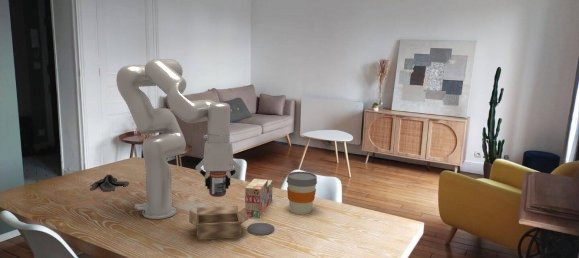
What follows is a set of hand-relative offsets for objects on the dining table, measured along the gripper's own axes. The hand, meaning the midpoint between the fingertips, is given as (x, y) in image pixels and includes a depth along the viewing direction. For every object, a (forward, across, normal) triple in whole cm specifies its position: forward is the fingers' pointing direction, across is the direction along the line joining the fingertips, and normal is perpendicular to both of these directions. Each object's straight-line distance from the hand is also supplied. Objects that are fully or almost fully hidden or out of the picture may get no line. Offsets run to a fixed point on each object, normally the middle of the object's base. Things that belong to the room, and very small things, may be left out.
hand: (217, 187), depth 146 cm
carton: (+17, +1, 0) cm, 17 cm away
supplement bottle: (+3, 0, 0) cm, 3 cm away
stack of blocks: (+17, +19, +21) cm, 33 cm away
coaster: (+17, +16, 0) cm, 23 cm away
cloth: (+19, -48, +58) cm, 78 cm away
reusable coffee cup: (+17, +36, +16) cm, 43 cm away
